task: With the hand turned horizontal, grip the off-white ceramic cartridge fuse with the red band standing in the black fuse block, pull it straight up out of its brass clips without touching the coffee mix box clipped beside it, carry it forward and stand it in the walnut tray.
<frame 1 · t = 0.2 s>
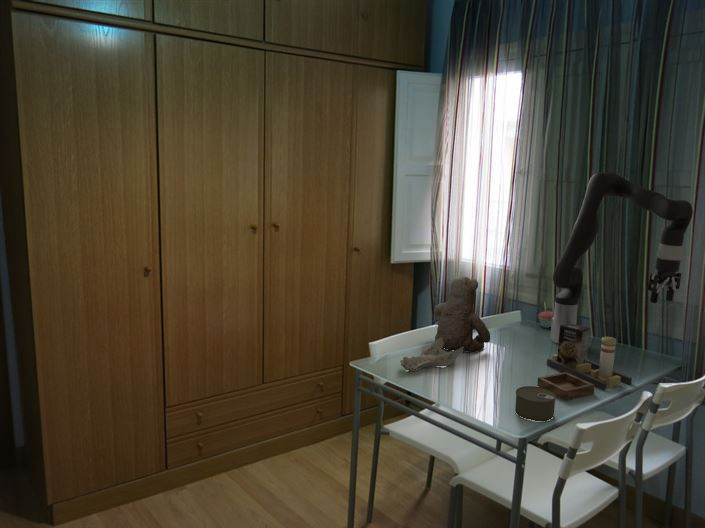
hand: (661, 301, 215), 28 cm above the table, tool pointing down, fingers open, 8 cm apart
skull: (429, 366, 229), on the table
fuse block: (604, 381, 216), on the table
coffee box: (570, 367, 230), resting in fuse block
toy: (459, 347, 252), on the table
tray: (565, 390, 208), on the table
fuse: (604, 381, 216), resting in fuse block
cupcake: (547, 326, 282), on the table
can: (534, 414, 189), on the table
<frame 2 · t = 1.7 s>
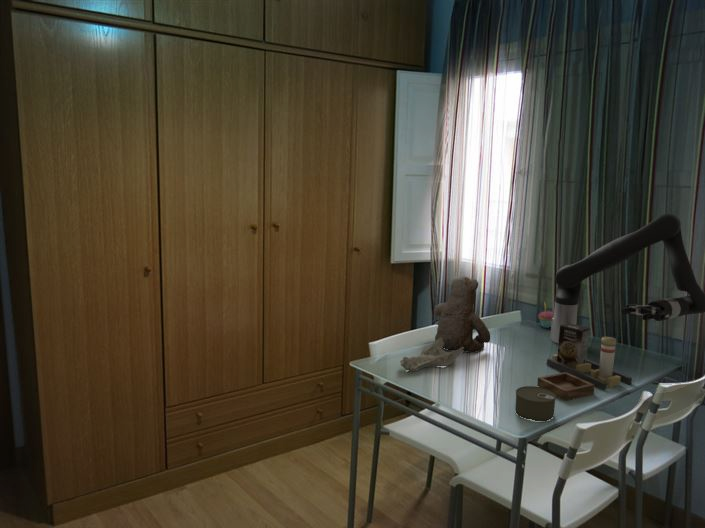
hand: (633, 314, 216), 24 cm above the table, tool horizontal, fingers open, 8 cm apart
nothing on the table moved.
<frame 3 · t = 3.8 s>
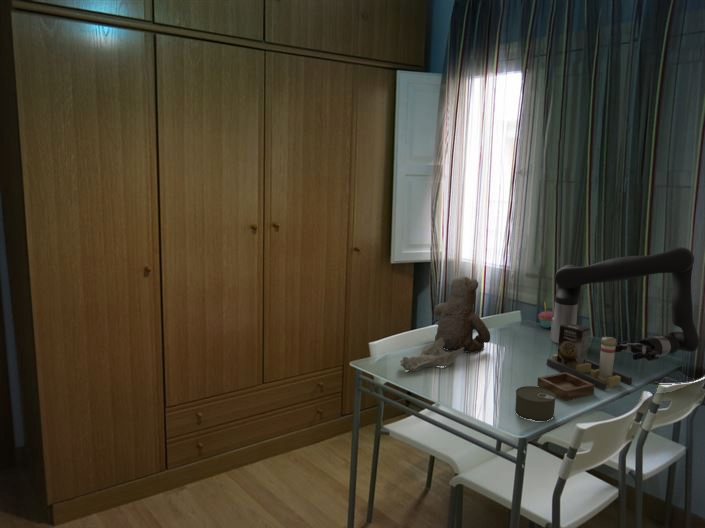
hand: (623, 353, 218), 10 cm above the table, tool horizontal, fingers open, 8 cm apart
nothing on the table moved.
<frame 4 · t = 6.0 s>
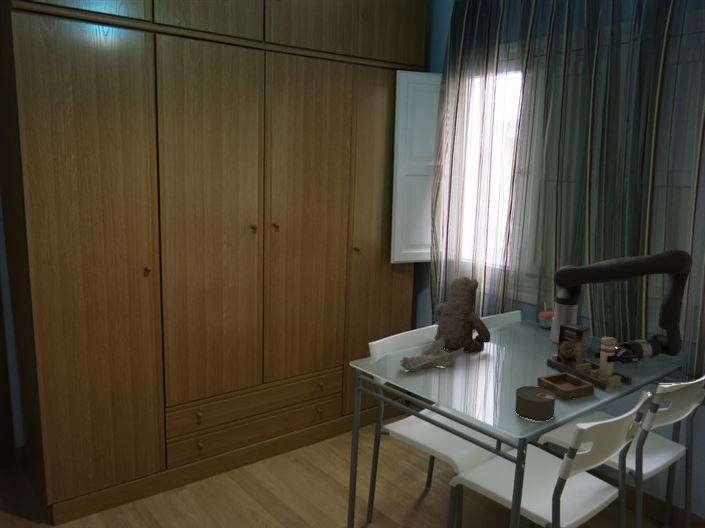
hand: (601, 357, 213), 10 cm above the table, tool horizontal, fingers closed on fuse, 4 cm apart
fuse: (604, 381, 216), resting in fuse block, touching gripper
everything else where it was.
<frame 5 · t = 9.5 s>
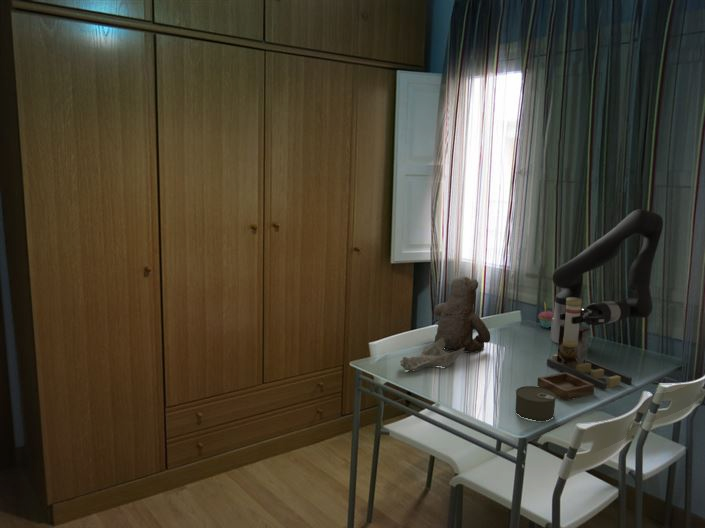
hand: (566, 318, 201), 26 cm above the table, tool horizontal, fingers closed on fuse, 4 cm apart
fuse: (570, 344, 204), point 16 cm above the table, touching gripper
everything else where it was.
when the fingers open (11 cm above the table, at t = 12.7 s): fuse stays where it is, resting on tray.
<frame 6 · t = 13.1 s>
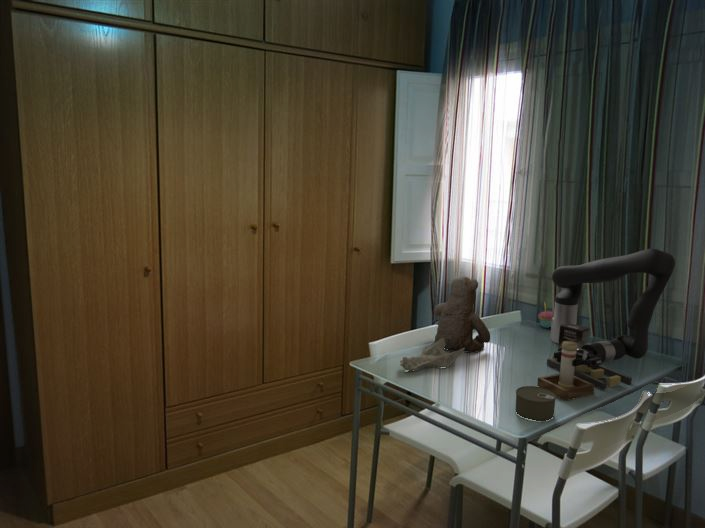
hand: (563, 359, 205), 12 cm above the table, tool horizontal, fingers open, 8 cm apart
fuse: (565, 387, 208), point 1 cm above the table, touching tray
everything else where it was.
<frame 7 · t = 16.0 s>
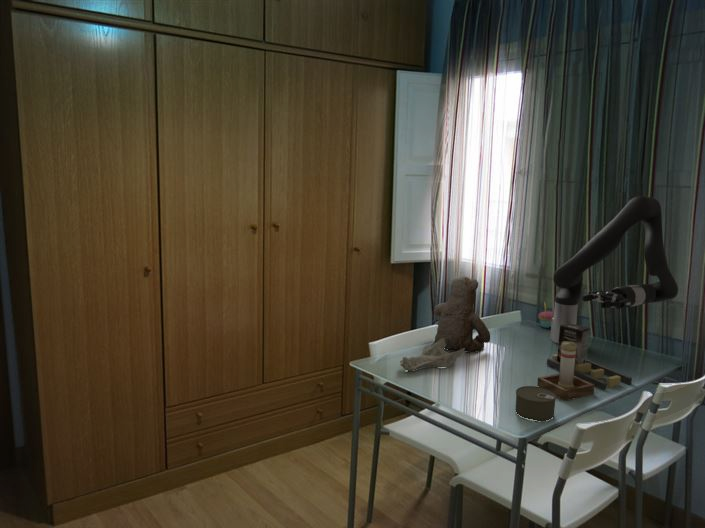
hand: (592, 301, 208), 30 cm above the table, tool horizontal, fingers open, 8 cm apart
nothing on the table moved.
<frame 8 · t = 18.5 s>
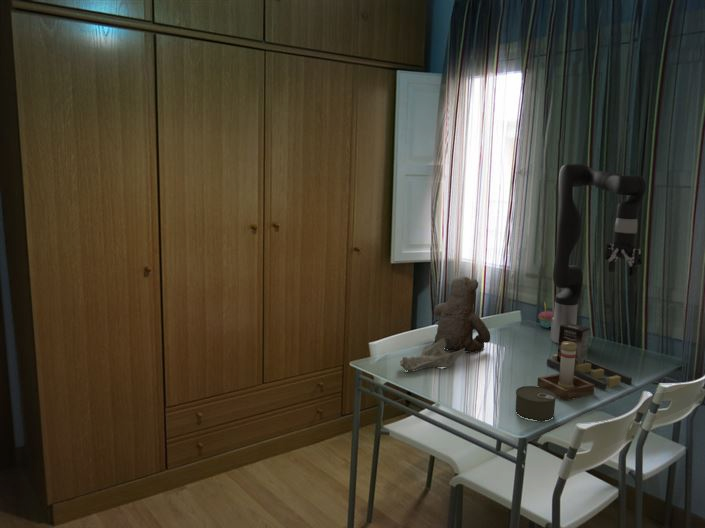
hand: (621, 274, 224), 36 cm above the table, tool pointing down, fingers open, 8 cm apart
nothing on the table moved.
at the end: fuse inside the target area on the tray (0.1 cm from its centre), point 0.8 cm above the tray's base; fuse tilted 0°; the gripper is holding nothing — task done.
